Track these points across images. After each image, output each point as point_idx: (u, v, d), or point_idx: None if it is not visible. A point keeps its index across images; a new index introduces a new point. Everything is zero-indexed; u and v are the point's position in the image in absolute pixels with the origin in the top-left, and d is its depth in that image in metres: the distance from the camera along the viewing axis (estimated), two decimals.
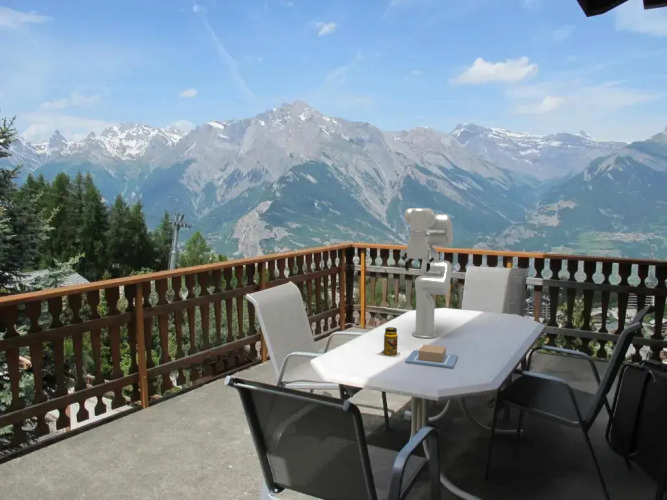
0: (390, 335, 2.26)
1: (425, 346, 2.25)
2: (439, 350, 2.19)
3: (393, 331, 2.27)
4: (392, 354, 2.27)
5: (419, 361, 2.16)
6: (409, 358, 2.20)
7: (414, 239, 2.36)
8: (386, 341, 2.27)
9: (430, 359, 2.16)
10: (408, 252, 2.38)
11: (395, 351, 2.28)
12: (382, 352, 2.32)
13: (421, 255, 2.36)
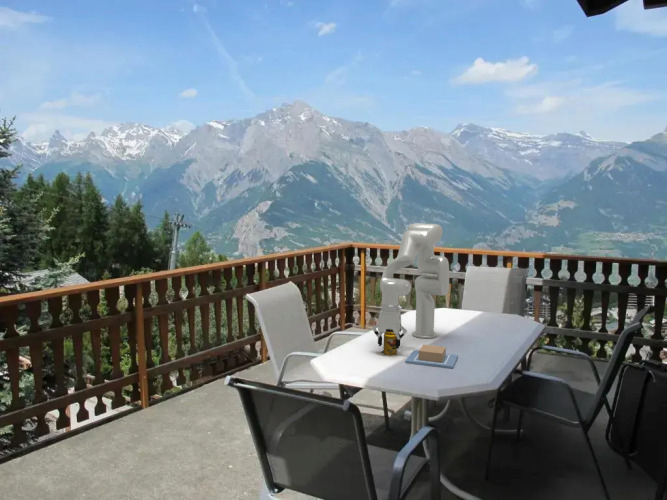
0: (390, 335, 2.26)
1: (425, 346, 2.25)
2: (439, 350, 2.19)
3: (393, 331, 2.27)
4: (392, 354, 2.27)
5: (419, 361, 2.16)
6: (409, 358, 2.20)
7: (385, 313, 2.27)
8: (386, 341, 2.27)
9: (430, 359, 2.16)
10: (379, 326, 2.29)
11: (395, 351, 2.28)
12: (382, 352, 2.32)
13: None
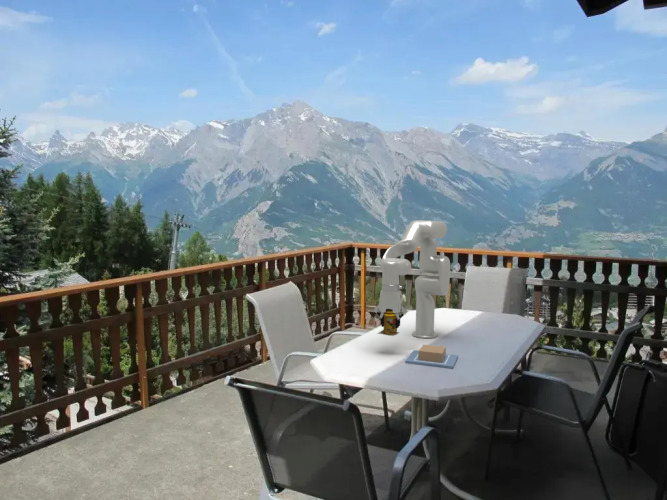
0: (389, 314, 2.27)
1: (425, 346, 2.25)
2: (439, 350, 2.19)
3: (392, 310, 2.27)
4: (392, 333, 2.28)
5: (419, 361, 2.16)
6: (409, 358, 2.20)
7: (386, 293, 2.27)
8: (385, 320, 2.28)
9: (430, 359, 2.16)
10: (380, 306, 2.29)
11: (395, 330, 2.28)
12: (382, 331, 2.33)
13: (393, 309, 2.26)
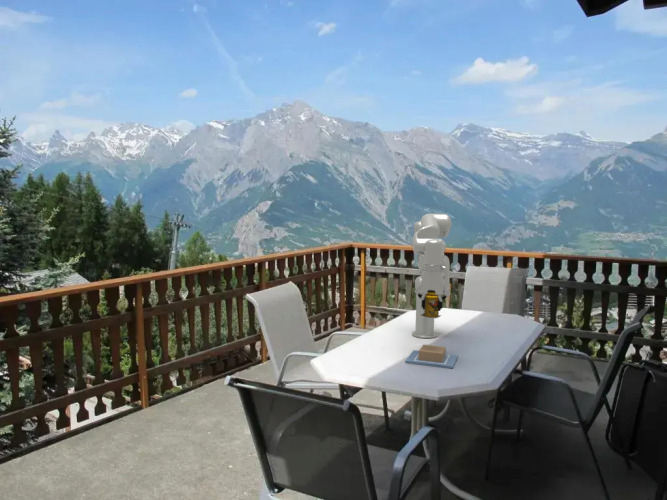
0: (431, 296, 2.17)
1: (425, 346, 2.25)
2: (439, 350, 2.19)
3: None
4: (433, 316, 2.17)
5: (419, 361, 2.16)
6: (409, 358, 2.20)
7: (428, 273, 2.17)
8: (427, 302, 2.18)
9: (430, 359, 2.16)
10: (422, 287, 2.19)
11: (436, 313, 2.18)
12: (422, 315, 2.23)
13: (436, 291, 2.17)
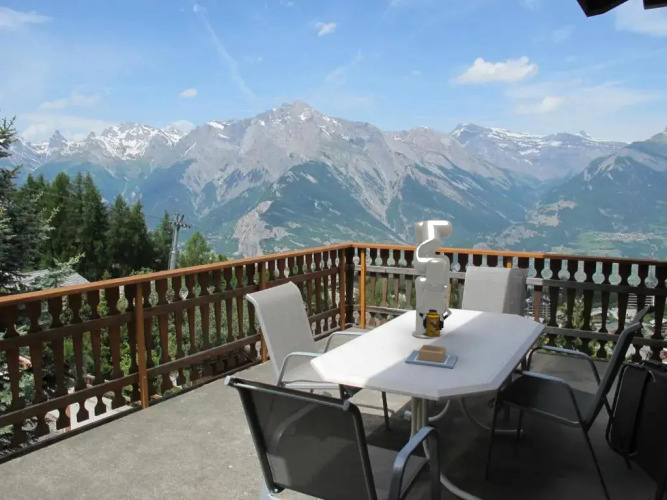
0: (433, 315, 2.17)
1: (425, 346, 2.25)
2: (439, 350, 2.19)
3: (436, 311, 2.17)
4: (435, 335, 2.18)
5: (419, 361, 2.16)
6: (409, 358, 2.20)
7: (430, 293, 2.17)
8: (429, 322, 2.18)
9: (430, 359, 2.16)
10: (423, 307, 2.19)
11: (438, 332, 2.18)
12: (424, 334, 2.23)
13: (437, 310, 2.17)
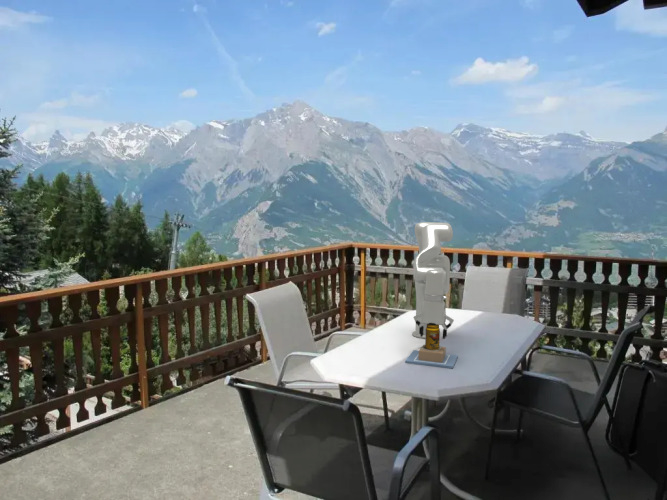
0: (432, 329, 2.18)
1: None
2: (439, 350, 2.19)
3: (435, 325, 2.18)
4: (434, 349, 2.18)
5: (419, 361, 2.16)
6: (409, 358, 2.20)
7: (429, 303, 2.18)
8: (428, 335, 2.19)
9: (430, 359, 2.16)
10: (423, 317, 2.19)
11: (437, 345, 2.19)
12: (423, 347, 2.24)
13: (437, 321, 2.17)
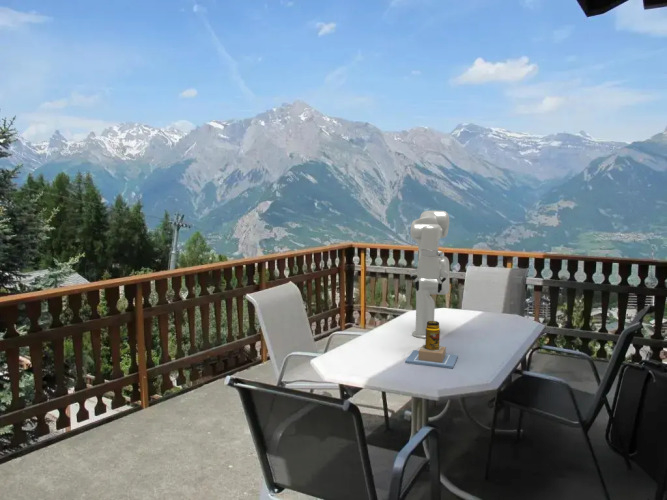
0: (432, 329, 2.18)
1: None
2: (439, 350, 2.19)
3: (435, 325, 2.18)
4: (434, 349, 2.18)
5: (419, 361, 2.16)
6: (409, 358, 2.20)
7: (425, 258, 2.23)
8: (428, 335, 2.19)
9: (430, 359, 2.16)
10: (418, 272, 2.25)
11: (437, 345, 2.19)
12: (423, 347, 2.24)
13: (432, 275, 2.23)
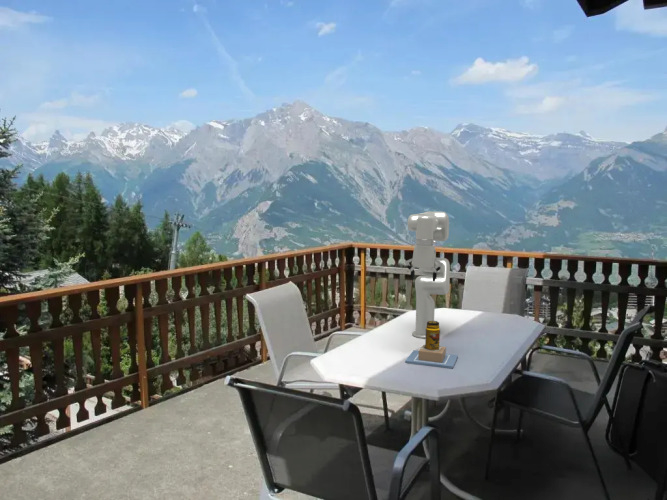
0: (432, 329, 2.18)
1: None
2: (439, 350, 2.19)
3: (435, 325, 2.18)
4: (434, 349, 2.18)
5: (419, 361, 2.16)
6: (409, 358, 2.20)
7: (420, 247, 2.29)
8: (428, 335, 2.19)
9: (430, 359, 2.16)
10: (414, 261, 2.31)
11: (437, 345, 2.19)
12: (423, 347, 2.24)
13: (427, 264, 2.29)
